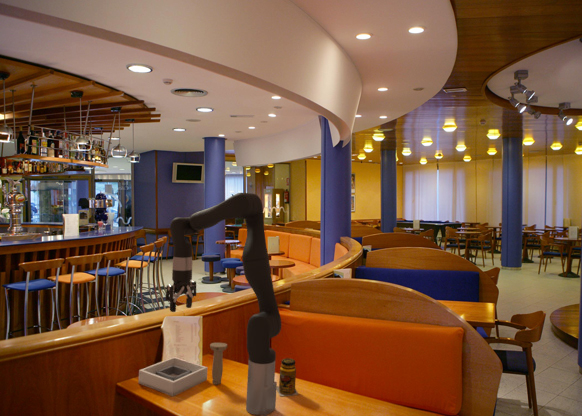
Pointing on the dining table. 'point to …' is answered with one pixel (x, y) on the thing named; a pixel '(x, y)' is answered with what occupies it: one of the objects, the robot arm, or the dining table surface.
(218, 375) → the handle
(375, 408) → the dining table surface
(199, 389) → the dining table surface
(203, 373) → the box
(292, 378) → the condiment
